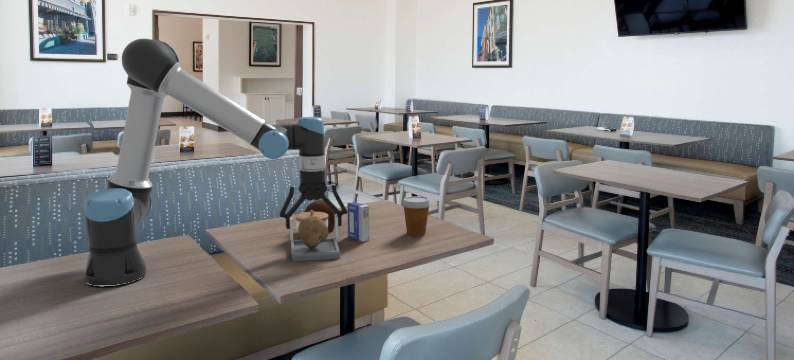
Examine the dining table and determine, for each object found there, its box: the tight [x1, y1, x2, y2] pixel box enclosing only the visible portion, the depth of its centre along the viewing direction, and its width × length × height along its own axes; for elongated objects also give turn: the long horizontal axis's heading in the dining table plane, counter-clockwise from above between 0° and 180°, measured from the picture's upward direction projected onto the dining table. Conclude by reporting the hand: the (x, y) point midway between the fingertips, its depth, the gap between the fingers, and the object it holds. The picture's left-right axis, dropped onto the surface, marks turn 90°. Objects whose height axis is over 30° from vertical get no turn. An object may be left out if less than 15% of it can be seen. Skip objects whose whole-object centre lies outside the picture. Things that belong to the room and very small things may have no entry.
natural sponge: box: [297, 216, 329, 249], centre depth 179 cm, size 9×9×10 cm
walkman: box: [346, 201, 370, 243], centre depth 193 cm, size 8×3×12 cm, turn 43°
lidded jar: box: [295, 210, 328, 232], centre depth 194 cm, size 11×11×9 cm
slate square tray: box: [290, 237, 341, 262], centre depth 180 cm, size 14×14×2 cm
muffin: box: [303, 199, 337, 233], centre depth 203 cm, size 12×11×10 cm
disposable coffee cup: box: [401, 195, 431, 237], centre depth 199 cm, size 10×10×12 cm
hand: (314, 237), depth 179 cm, fingers open, 13 cm apart
